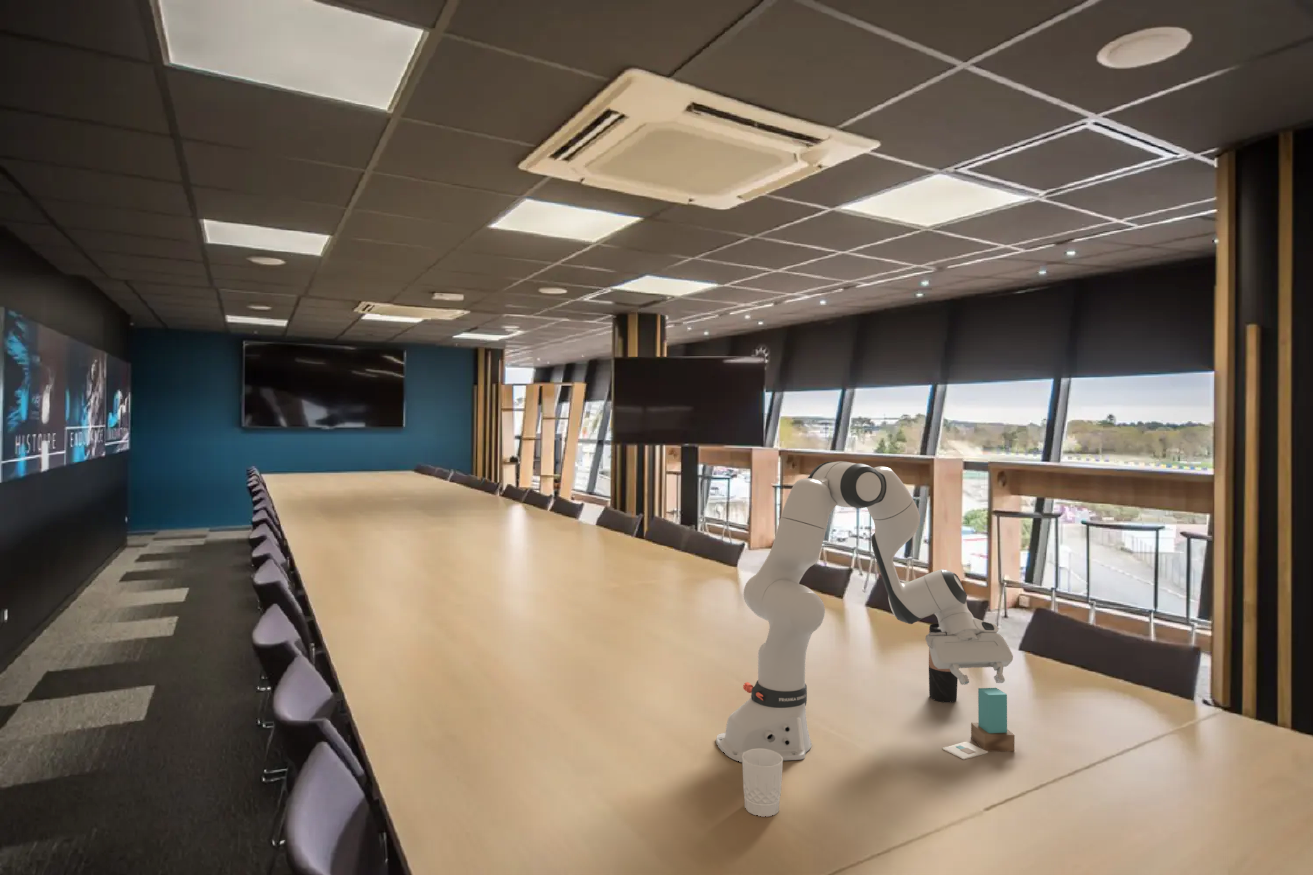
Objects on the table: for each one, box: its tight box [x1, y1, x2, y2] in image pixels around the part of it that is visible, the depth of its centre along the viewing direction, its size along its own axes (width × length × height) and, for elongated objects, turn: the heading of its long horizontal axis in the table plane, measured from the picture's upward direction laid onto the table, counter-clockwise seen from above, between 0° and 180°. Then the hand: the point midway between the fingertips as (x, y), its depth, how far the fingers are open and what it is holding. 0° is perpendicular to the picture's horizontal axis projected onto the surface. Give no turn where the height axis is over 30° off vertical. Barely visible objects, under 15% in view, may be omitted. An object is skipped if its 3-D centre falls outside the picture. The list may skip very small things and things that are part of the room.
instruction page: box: [942, 741, 989, 761], centre depth 164 cm, size 8×6×1 cm
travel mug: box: [928, 622, 959, 704], centre depth 197 cm, size 8×8×20 cm
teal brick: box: [977, 687, 1008, 733], centre depth 167 cm, size 4×4×9 cm
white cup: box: [741, 749, 784, 818], centre depth 138 cm, size 8×8×10 cm
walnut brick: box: [970, 722, 1016, 752], centre depth 168 cm, size 7×7×4 cm
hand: (983, 682), depth 171 cm, fingers open, 8 cm apart
